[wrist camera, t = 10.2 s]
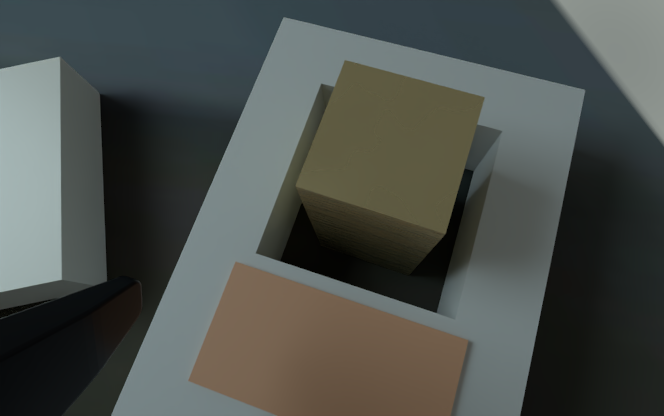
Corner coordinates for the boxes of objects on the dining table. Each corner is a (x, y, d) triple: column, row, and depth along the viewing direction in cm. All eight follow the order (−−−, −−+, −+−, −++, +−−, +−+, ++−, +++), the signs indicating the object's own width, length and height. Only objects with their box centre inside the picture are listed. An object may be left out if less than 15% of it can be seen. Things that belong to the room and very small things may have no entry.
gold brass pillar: (408, 275, 18) (445, 234, 10) (321, 245, 19) (295, 185, 11) (434, 191, 19) (485, 97, 11) (350, 165, 20) (345, 60, 12)
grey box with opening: (426, 647, 14) (452, 768, 10) (120, 509, 16) (41, 568, 12) (540, 137, 19) (588, 87, 15) (297, 74, 21) (283, 13, 17)
